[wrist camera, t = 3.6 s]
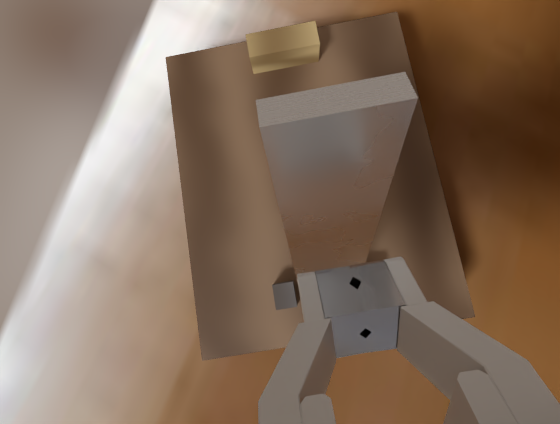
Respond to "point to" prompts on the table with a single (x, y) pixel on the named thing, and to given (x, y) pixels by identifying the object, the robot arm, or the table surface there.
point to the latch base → (260, 190)
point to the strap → (335, 164)
